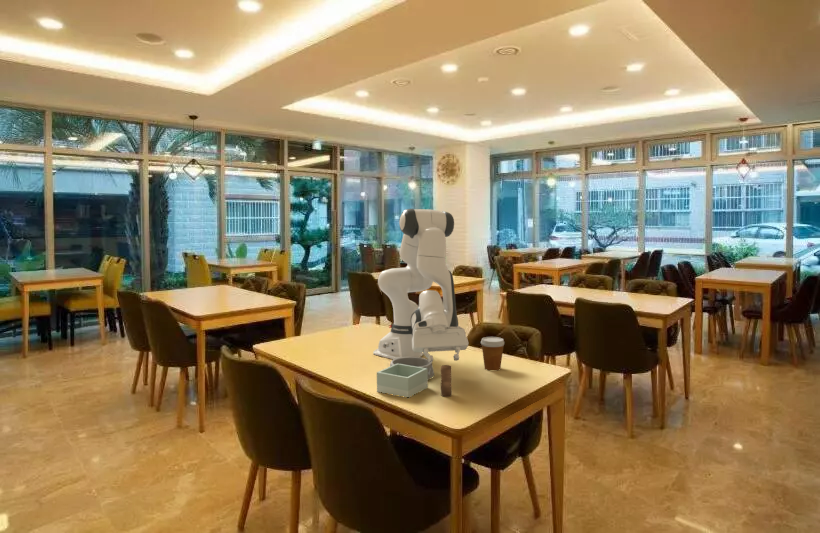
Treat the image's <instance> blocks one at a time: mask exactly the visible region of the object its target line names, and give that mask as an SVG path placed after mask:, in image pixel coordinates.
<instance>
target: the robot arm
mask: <svg viewBox="0 0 820 533" xmlns="http://www.w3.org/2000/svg"><path fill="white" fill-rule="evenodd" d="M400 214H401V215H400V217H399V221H398V222H399V229H400V231H401V232H402V233H403V235H402V238H401V244H400V248H399V254H398V255H399V258H400V259H401V260H402V261H403V262H404V263H405V264H407V265H406V266H405V267H396V268H395V267H394V268H388V269H385V270H382V271H381V272H380V274H379V275H378V278H377V285H378V287H379V289H380V291H381V292H383V293H384V294H385V295H386V296H387V297H388V298H389V300H390V302H391V305H392V308H393V309H392V311H393V323H392V324H390V325H388V328H389V329H390V331H389V332H388V333H387V334H385V335H384V336H383V337H382V338H380V340H379V342H378V346H377V347H378V348H376V349H375V350H373V353H372V355H376V356H379V357H383V358H387V359H391V360H394V359H397V358H402V357H421V358H422V356H425V358H426V359H428V362H432V363H433V361H434V357H433V354H432V355H431V354H429V352H432V353H433V352H449V351H450V352H451V351H452V352H453V351H454V352H455V354H454V355H453V360H454V361H459V360H460V356H459V355H460V351H466V350H467V348H468V346H469V344H470V343H469V340H468V336H467V335H466V330H465V328H463V327H461V326H459V319H458V314H457V304H456V292H455V291H456V290H455V282H454V275H453V272H452V271H451V270H449V269H448V266H447V262H446V257H447V240H446V238H447V237H450V236H451V235H452V233H453V232H454V228H455V219H454V216H453V215H452V213H450V212H448V211H440V210H436V209H430V208H426V209H423V208H420V209H419V208H417V209H416V208H415V209H414V208H407V209H404V210H402V212H401V213H400ZM433 283H435V284H437V285H438V286H439V287H440V288H441V292H442V297H441V295H440V293H439V292H438V290H432V289H430V288H431V287H432V285H433ZM416 292H418V293H419V292H420V294H419V296H418V304H417V303H416V302H415V301H413V300H410V299H409V296H408V295H409V293H416Z"/></svg>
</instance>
